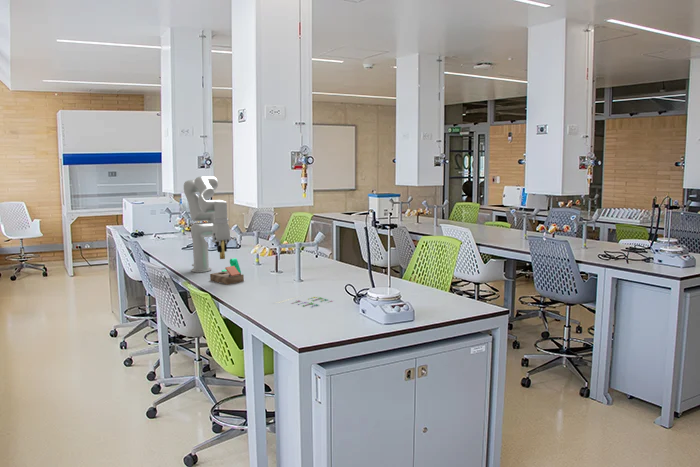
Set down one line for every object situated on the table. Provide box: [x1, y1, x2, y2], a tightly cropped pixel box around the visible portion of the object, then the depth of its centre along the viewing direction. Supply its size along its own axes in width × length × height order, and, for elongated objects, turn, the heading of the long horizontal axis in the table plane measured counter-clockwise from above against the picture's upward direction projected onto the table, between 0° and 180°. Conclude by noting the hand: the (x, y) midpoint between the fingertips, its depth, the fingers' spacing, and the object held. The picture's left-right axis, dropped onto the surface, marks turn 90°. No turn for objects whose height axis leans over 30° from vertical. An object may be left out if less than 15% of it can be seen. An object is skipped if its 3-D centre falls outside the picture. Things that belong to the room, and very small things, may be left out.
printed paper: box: [274, 294, 334, 308], centre depth 290 cm, size 30×30×2 cm
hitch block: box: [209, 271, 245, 285], centre depth 342 cm, size 17×12×5 cm
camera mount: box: [221, 257, 242, 274], centre depth 361 cm, size 12×8×10 cm, turn 40°
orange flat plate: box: [224, 265, 240, 276], centre depth 338 cm, size 7×6×1 cm
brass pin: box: [219, 240, 226, 260], centre depth 343 cm, size 3×3×12 cm
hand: (222, 251), depth 343 cm, fingers closed on brass pin, 3 cm apart
